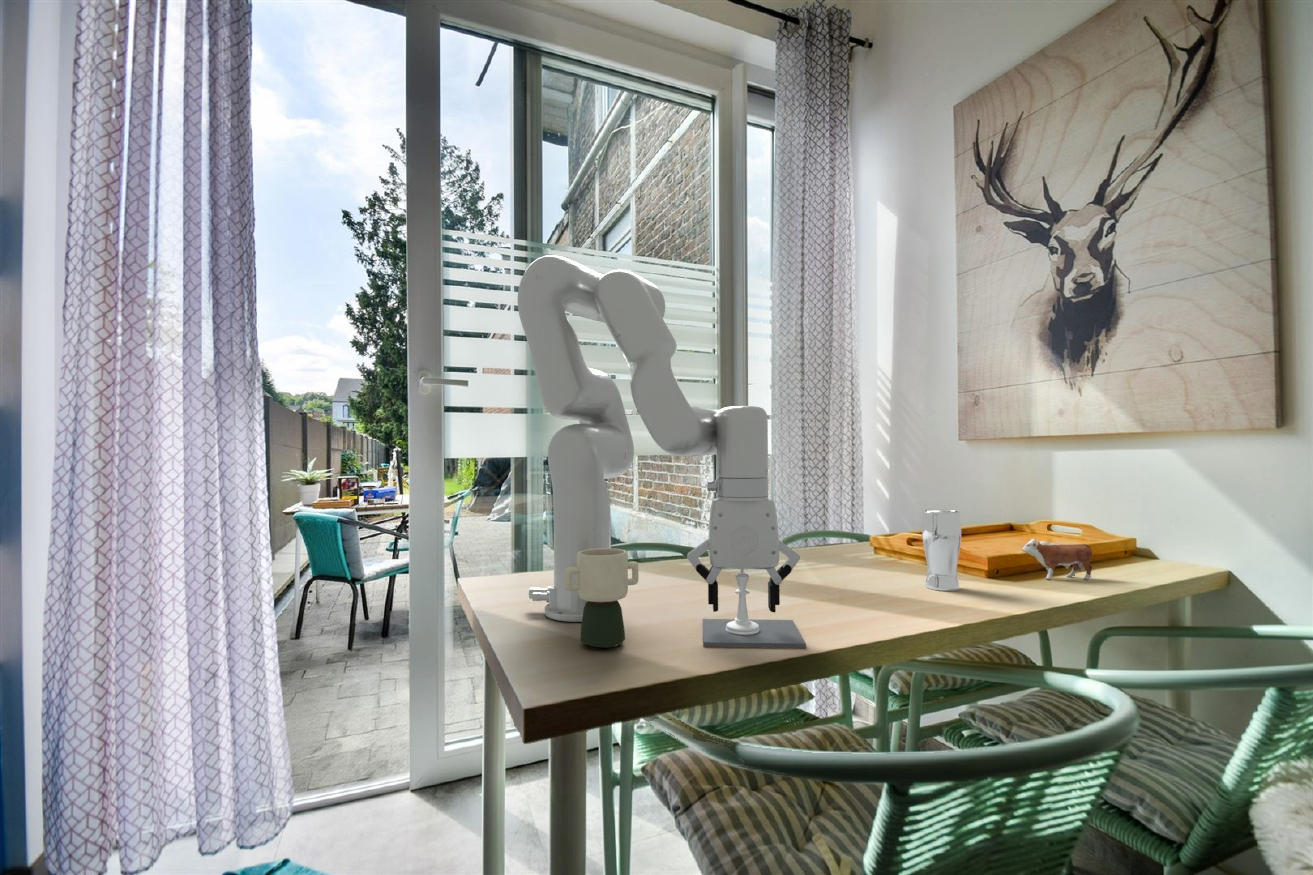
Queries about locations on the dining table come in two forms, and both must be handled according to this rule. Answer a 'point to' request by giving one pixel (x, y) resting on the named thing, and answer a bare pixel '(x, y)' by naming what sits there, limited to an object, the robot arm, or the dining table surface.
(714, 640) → the mat
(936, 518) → the beer glass
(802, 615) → the dining table surface
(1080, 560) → the bull figurine
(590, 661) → the dining table surface
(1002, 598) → the dining table surface
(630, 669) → the dining table surface
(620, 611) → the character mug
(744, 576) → the chess piece
